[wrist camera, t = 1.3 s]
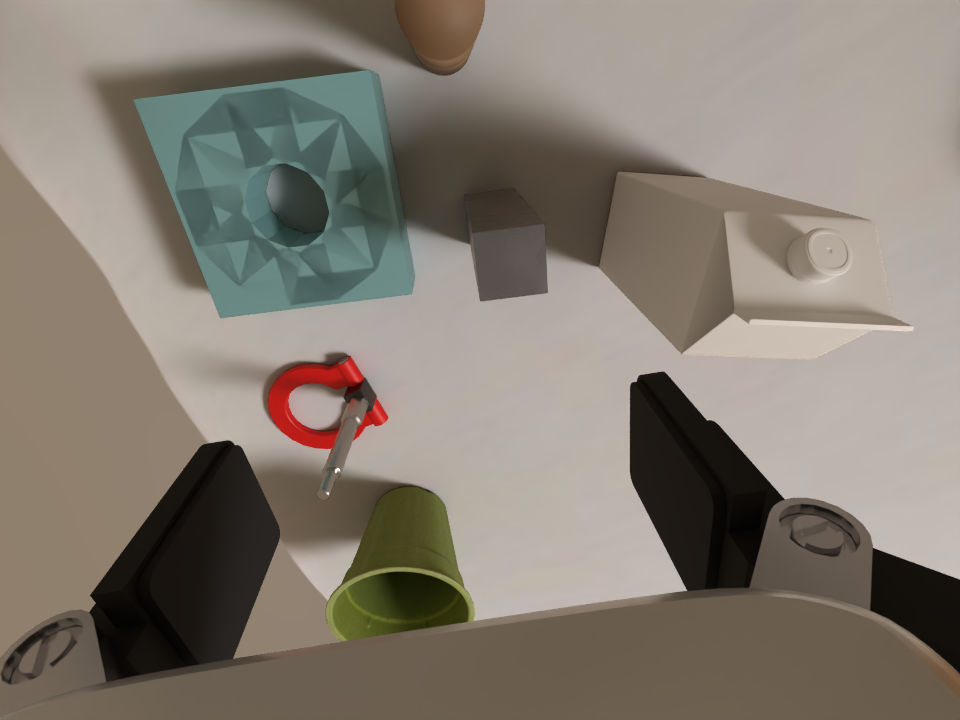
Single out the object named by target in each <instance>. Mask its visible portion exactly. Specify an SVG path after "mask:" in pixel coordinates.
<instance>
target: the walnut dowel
mask: <svg viewBox="0 0 960 720" xmlns="http://www.w3.org/2000/svg"><path fill="white" fill-rule="evenodd" d="M395 8H396V14H397V18H398V21H399V24H400V26H401V28H402V30H403V32H404V34H405V36H406V37H407V39H408V41H409V43H410V44H411V46H412V48H413V50H414V52H415V53H416V55H417V57H418V59H419V60H420V62H421V63H422V65H423V66H424V67H425V68H426V69H427V70H429V71H430V72H432V73H434V74H437V75H442V76H446V75H451V74H454V73H456V72H457V71H459V70H460V69H461V68H462V67H463V66H464V65H465V63H466V62H467V60H468V58H469V55H470V53H471V50H472V48H473V45H474V43H475V40H476V38H477V35H478V33H479V30H480V28H481V25H482V22H483V17H484V11H485V0H395Z"/></svg>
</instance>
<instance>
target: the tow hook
mask: <svg viewBox="0 0 960 720" xmlns="http://www.w3.org/2000/svg"><path fill="white" fill-rule="evenodd" d="M308 383H320V384H324V385H327V386H330V387H332V388H334V389H340V388H343V387H346V386H348V385H349V386H348V388H347V391H346V393H345V395H344V399H345V401H346V402H347V406H346V408H345V411H344V413H343V415H342V418H341V423H342V425H341V427H340V428H339V429H336V430H333V431H327V432H326V431H316V430H313V429H310V428H308V427H306V426H304V425H302V424H301V423H300V422H298V421H297V420H296V419H295V417H294V416H293V415H292V413H291V411H290V409H289V403H288V399H289V394H290V393H291V391H293V390H294V389H295V388H296V387H298V386H301V385H303V384H308ZM268 406H269V413H270V415H271V417H272V419H273V421H274V423H275V424H276V425H277V427H278V428H279V429H280V430H281V431H282V432H283V433H284V434H285V435H287V436H288V437H289V438H291V439H292V440H294V441H296V442H298V443H300V444H302V445H305V446H309V447H313V448H320V449H331V448H332V449H331V452H330V454H329V457H328V459H327V462H326V464H325V467H324V469H323V474H324V478H323V480H322V483H321V485H320V488H319V490H318V493H317V496H318V497H319V498H320V499H322V500H325V499H328V498H329V496H330V493H331V491H332V488H333V485H334V482H335V480H336V479H337V478H339V477H340V475H341V472H342V470H343V467H344V464H345V461H346V458H347V456H348V453H349V450H350V447H351V444H352V442H353V441H354V440H355V439H356V438H357V437H359V435H360V434H361V433H362V431H363V430H364V428H365V427H366V426H369V425H372V424H374V425H375V426H379V425H382V424H383V423H385V422H386V421H387V419H388V416H387V414H386V412H385V411H384V409H383V408H382V406H381V404H380V403H379V401H378V400H377V396H376V394H375V392H374V391H373V389H372V388H371V386H370V384H369V383H368V381H367V380H366V378H365V377H363V375H362V374H361V372H360V371H359V369H358V367H357V366H356V364H355V363H354V361H353V359H352V358H351V356H346V357H343V358H342V359H340V360H339V361H338V362H337V363H336V364H335V365H332V366H326V365H321V364H305V365H299V366H296V367H293V368H291V369H289V370H287V371H285V372H284V373H283V374H282V375H281V376H280V377H279V378H277V380H276V381H275V383H274V385H273V386H272V388H271V390H270V392H269V398H268Z"/></svg>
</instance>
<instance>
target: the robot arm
mask: <svg viewBox="0 0 960 720" xmlns="http://www.w3.org/2000/svg"><path fill="white" fill-rule="evenodd" d="M630 475H631V479H632V483H633V485H634V487H635V489H636V491H637V493H638V495H639V497H640V499H641V501H642V503H643V505H644V507H645V509H646V511H647V513H648V515H649V517H650V519H651V521H652V523H653V525H654V526H655V528H656V530H657V532H658V534H659V536H660V538H661V540H662V542H663V544H664V546H665V548H666V550H667V552H668V554H669V556H670V558H671V560H672V562H673V564H674V566H675V568H676V570H677V572H678V573H679V575H680V577H681V579H682V581H683V583H684V585H685V587H686V589H687V591H683V592H674V593H667V594H659V595H652V596H644V597H636V598H629V599H621V600H614V601H606V602H599V603H592V604H585V605H579V606H572V607H565V608H558V609H552V610H545V611H538V612H532V613H525V614H518V615H511V616H505V617H498V618H491V619H485V620H478V621H471V622H465V623H458V624H452V625H445V626H439V627H432V628H426V629H419V630H413V631H406V632H400V633H393V634H387V635H381V636H374V637H368V638H361V639H355V640H348V641H342V642H336V643H330V644H323V645H317V646H311V647H304V648H298V649H292V650H286V651H280V652H274V653H267V654H261V655H255V656H249V657H242V658H236V659H233V657H234V654H235V652H236V649H237V647H238V644H239V642H240V639H241V637H242V634H243V631H244V629H245V626H246V624H247V621H248V619H249V616H250V614H251V611H252V608H253V606H254V603H255V601H256V598H257V596H258V593H259V591H260V588H261V585H262V583H263V580H264V578H265V575H266V573H267V570H268V567H269V565H270V562H271V560H272V557H273V555H274V552H275V549H276V547H277V545H278V542H279V538H280V529H279V525H278V523H277V521H276V519H275V517H274V515H273V512H272V510H271V508H270V506H269V504H268V502H267V500H266V498H265V495H264V493H263V491H262V489H261V487H260V485H259V483H258V481H257V479H256V476H255V474H254V472H253V470H252V468H251V466H250V464H249V462H248V460H247V457H246V455H245V453H244V451H243V449H242V448H241V447H240V446H239V445H234V443H233V442H231V441H228V440H227V441H221V442H215V443H208V444H204V445H202V446H201V447H200V448H199V449H198V450H197V452H196V453H195V455H194V456H193V457H192V459H191V460H190V461H189V463H188V464H187V465H186V467H185V468H184V469H183V471H182V472H181V473H180V475H179V476H178V478H177V479H176V480H175V481H174V483H173V484H172V486H171V487H170V488H169V490H168V491H167V493H166V494H165V495H164V496H163V498H162V499H161V500H160V502H159V503H158V505H157V506H156V507H155V509H154V510H153V511H152V513H151V514H150V515H149V517H148V518H147V519H146V521H145V522H144V523H143V525H142V526H141V527H140V529H139V530H138V531H137V533H136V534H135V536H134V537H133V538H132V540H131V541H130V542H129V544H128V545H127V546H126V548H125V549H124V550H123V552H122V553H121V554H120V556H119V557H118V559H117V560H116V561H115V563H114V564H113V565H112V567H111V568H110V569H109V571H108V572H107V573H106V575H105V576H104V577H103V579H102V580H101V581H100V583H99V584H98V585H97V587H96V588H95V590H94V591H93V592H92V594H91V595H90V596H91V597H92V599H93V600H94V601H95V602H96V604H95V605H94V607H93V608H92V609H91V611H90V612H87V611H84V610H72V611H67V612H64V613H61V614H58V615H56V616H53V617H51V618H49V619H47V620H46V621H43V622H42V623H40V624H39V625H37V626H35V627H34V628H33V629H31V630H30V631H28V632H27V633H25V634H24V635H23V636H22V637H21V638H19V639H18V640H17V641H16V642H15V643H14V644H13V645H11V647H10V648H9V649H8V650H7V651H6V652H5V653H4V655H2V657H1V658H0V720H960V580H959V579H957V578H954V577H951V576H948V575H946V574H943V573H940V572H937V571H935V570H932V569H929V568H926V567H924V566H921V565H918V564H915V563H913V562H910V561H907V560H904V559H902V558H899V557H896V556H893V555H891V554H888V553H885V552H882V551H880V550H877V549H874V548H873V545H872V540H871V536H870V534H869V532H868V531H867V530H866V528H865V527H864V525H863V524H862V523H861V522H860V521H858V520H857V519H856V518H855V517H854V516H853V515H851V514H850V513H848V512H846V511H844V510H843V509H841V508H839V507H837V506H835V505H832V504H829V503H827V502H824V501H820V500H815V499H810V498H791V499H786V500H785V499H784V498H783V497H782V496H781V495H780V494H779V493H778V491H777V490H776V489H775V488H774V487H773V486H772V485H771V483H770V482H769V481H768V480H767V479H766V478H765V477H764V476H763V474H762V473H761V472H760V471H759V470H758V469H757V468H756V467H755V465H754V464H753V463H752V462H751V461H750V460H749V459H748V458H747V456H746V455H745V454H744V453H743V452H742V451H741V450H740V449H739V447H738V446H737V445H736V444H735V443H734V442H733V441H732V440H731V438H730V437H729V436H728V435H727V434H726V433H725V432H724V430H723V429H722V428H721V427H720V426H719V425H718V424H717V423H716V422H714V421H711V420H709V421H707V420H706V419H705V418H704V417H703V415H702V414H701V413H700V412H699V411H698V410H697V408H696V407H695V406H694V405H693V404H692V403H691V402H690V400H689V399H688V398H687V397H686V396H685V395H684V393H683V392H682V391H681V390H680V389H679V388H678V386H677V385H676V384H675V383H674V382H673V381H672V379H671V378H670V377H669V376H668V375H667V374H666V373H665V372H657V373H650V374H644V375H639V376H638V379H637V382H633V383H631V386H630Z"/></svg>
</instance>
